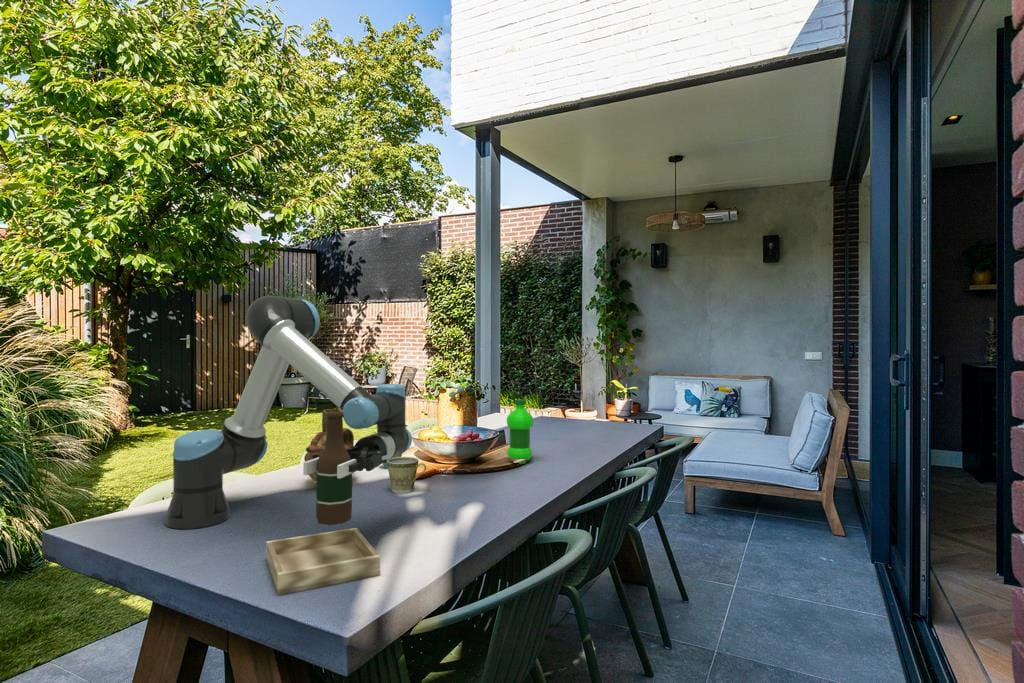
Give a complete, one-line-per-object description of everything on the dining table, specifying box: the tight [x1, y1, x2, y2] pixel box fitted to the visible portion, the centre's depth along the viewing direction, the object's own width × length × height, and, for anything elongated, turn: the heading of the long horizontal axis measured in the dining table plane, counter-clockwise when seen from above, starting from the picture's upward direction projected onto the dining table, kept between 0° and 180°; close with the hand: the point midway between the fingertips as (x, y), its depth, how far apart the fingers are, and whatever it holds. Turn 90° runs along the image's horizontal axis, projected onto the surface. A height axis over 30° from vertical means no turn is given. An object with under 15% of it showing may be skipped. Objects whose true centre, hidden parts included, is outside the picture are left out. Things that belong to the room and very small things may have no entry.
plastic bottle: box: [506, 398, 534, 465], centre depth 227 cm, size 10×10×25 cm
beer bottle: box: [315, 411, 353, 526], centre depth 126 cm, size 8×8×24 cm
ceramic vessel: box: [303, 408, 355, 482], centre depth 192 cm, size 17×26×25 cm, turn 170°
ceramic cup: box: [387, 456, 427, 495], centre depth 184 cm, size 13×10×10 cm
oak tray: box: [265, 527, 381, 596], centre depth 124 cm, size 20×20×4 cm
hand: (321, 470), depth 121 cm, fingers closed on beer bottle, 7 cm apart
